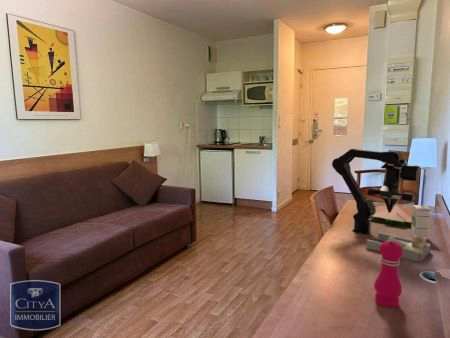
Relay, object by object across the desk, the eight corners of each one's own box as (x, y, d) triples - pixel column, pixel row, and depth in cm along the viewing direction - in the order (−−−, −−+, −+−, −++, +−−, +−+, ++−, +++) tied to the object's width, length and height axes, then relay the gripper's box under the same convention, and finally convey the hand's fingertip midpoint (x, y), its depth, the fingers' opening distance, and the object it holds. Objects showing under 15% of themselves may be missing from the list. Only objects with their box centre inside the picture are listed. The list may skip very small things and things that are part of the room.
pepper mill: (368, 295, 99) (373, 232, 96) (391, 295, 100) (396, 232, 97) (381, 309, 92) (387, 241, 89) (406, 308, 92) (412, 240, 90)
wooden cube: (411, 246, 133) (412, 237, 132) (414, 244, 136) (415, 235, 135) (422, 249, 130) (423, 239, 129) (425, 246, 133) (426, 237, 132)
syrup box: (428, 239, 149) (431, 208, 147) (414, 238, 150) (417, 207, 148) (423, 235, 154) (426, 205, 152) (409, 234, 156) (412, 204, 154)
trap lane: (366, 247, 138) (366, 239, 137) (378, 239, 148) (378, 232, 147) (420, 262, 124) (421, 253, 123) (429, 252, 134) (430, 244, 133)
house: (367, 222, 175) (368, 208, 174) (379, 209, 202) (380, 197, 201) (416, 231, 162) (418, 215, 161) (422, 216, 189) (423, 202, 188)
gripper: (364, 178, 148) (362, 211, 150) (409, 183, 135) (406, 220, 137) (373, 175, 155) (371, 207, 158) (417, 180, 143) (414, 215, 145)
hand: (389, 212), depth 149 cm, fingers closed
